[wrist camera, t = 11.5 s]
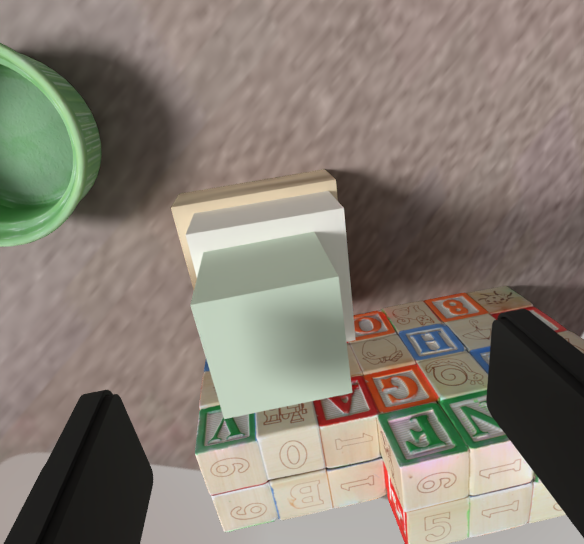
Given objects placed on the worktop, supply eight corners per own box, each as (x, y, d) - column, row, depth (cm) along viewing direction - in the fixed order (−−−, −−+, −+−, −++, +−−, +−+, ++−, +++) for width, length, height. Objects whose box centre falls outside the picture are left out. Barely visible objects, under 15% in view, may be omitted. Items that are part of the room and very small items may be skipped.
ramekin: (72, 22, 20) (28, 4, 16) (137, 202, 23) (115, 225, 19) (-115, 60, 19) (-208, 52, 15) (-19, 236, 23) (-74, 266, 19)
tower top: (194, 213, 21) (185, 234, 18) (328, 190, 21) (343, 207, 18) (222, 328, 24) (219, 365, 20) (340, 307, 24) (355, 340, 21)
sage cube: (203, 252, 18) (190, 304, 13) (314, 231, 18) (338, 276, 14) (228, 345, 20) (224, 419, 15) (327, 326, 20) (352, 392, 16)
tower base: (180, 192, 24) (170, 207, 20) (323, 167, 24) (335, 179, 21) (212, 316, 27) (209, 346, 24) (337, 293, 28) (349, 319, 24)
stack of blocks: (226, 410, 30) (218, 598, 19) (206, 341, 28) (182, 512, 16) (502, 354, 31) (650, 503, 20) (508, 282, 28) (682, 406, 17)
